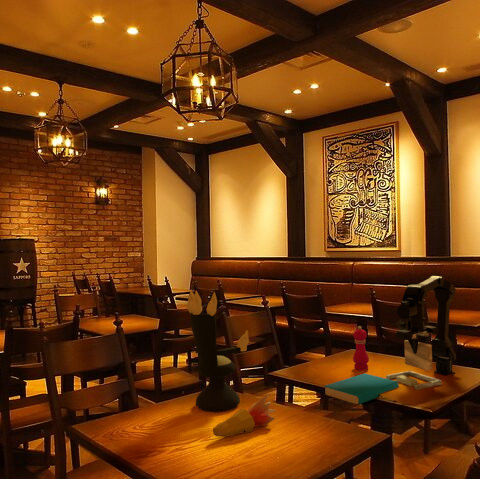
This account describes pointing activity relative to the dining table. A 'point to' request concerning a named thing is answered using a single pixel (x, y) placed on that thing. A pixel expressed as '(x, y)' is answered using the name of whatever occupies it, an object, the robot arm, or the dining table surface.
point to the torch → (245, 419)
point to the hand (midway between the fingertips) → (418, 353)
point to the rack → (428, 384)
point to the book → (360, 388)
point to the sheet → (419, 356)
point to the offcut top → (406, 380)
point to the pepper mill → (360, 350)
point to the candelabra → (213, 357)
